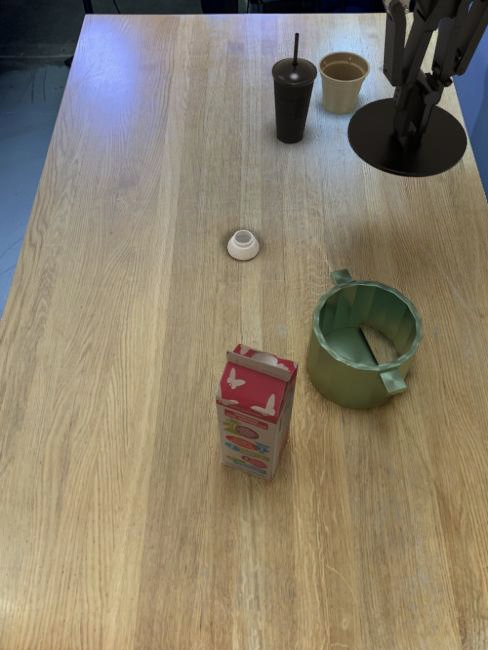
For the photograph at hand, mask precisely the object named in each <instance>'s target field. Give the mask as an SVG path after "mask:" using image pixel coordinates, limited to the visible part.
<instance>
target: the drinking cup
mask: <svg viewBox="0 0 488 650" xmlns="http://www.w3.org/2000/svg"><path fill="white" fill-rule="evenodd" d="M299 41H300V32H295V33H294V43H293V56H292V57H286V58H283V59H280V60H278V61H277V62H275V63H274V64H273V65H272V67H271V77H272V78H273V95H274V97H273V98H274V114H275V116H274V117H275V131H276V139H277V140H278V141H279V142H281V143H283V144H286V145H293V144H297V143H299V142H301V141H302V140H303V138H304V133H305V128H306V124H307V118H308V114H309V108H310V104H311V98H312V94H313V91H314V90H313V89H314V85H315V80H316V79H317V76H318V69H317V68H318V67H317V66H316V65H315V64H314V63H313V62H312V61H310V60H308V59H305V58H301V57H299V43H300V42H299Z"/></svg>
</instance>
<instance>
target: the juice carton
mask: <svg viewBox="0 0 488 650" xmlns="http://www.w3.org/2000/svg"><path fill="white" fill-rule="evenodd" d="M298 368H299V362H296V361H293V360H291V359H287V358H284V357H281V356H279V355H276V354H273V353H269V352H267V351H264V350H260V349H257V348H254V347H252V346H248V345H245V344H242V343H238V344H237V345H236V346H235V348H234V349H233V350H232V351H230V350H229V349H227V350H226V363H225V366H224V368H223V371H222V374H221V377H220V380H219V383H218V386H217V389H216V392H215V395H214V396H215V397H214V398H215V406H216V415H217V427H218V437H219V447H220V448H219V449H220V457H221V464H222V465H225V466H228V467H230V468H232V469H236V470H238V471H241V472H244V473H247V474H249V475H250V476H254V477H256V478H259V479H262V480H265V481H267V482H269V483H272V481H273V479H274V476H275V474H276V470H277V468H278V466H279V463H280V460H281V457H282V455H283V452H284V450H285V446H286V444H287V442H288V438H289V435H290V430H291V429H290V428H291V422H292V414H293V407H294V399H295V393H296V385H297V378H298Z"/></svg>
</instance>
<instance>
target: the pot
mask: <svg viewBox="0 0 488 650" xmlns="http://www.w3.org/2000/svg"><path fill="white" fill-rule="evenodd" d="M329 278H330V279H331V281H332V284H333V287H332V288H330V289H329V290H327V291H326V292H324V293H323V294H321V297H320V298H319V300H318V301H317V303H316V305H315V307H314V308H313V312H312V319H311V324H310V330H309V331H310V332H309V338H308V343H307V351H306V366H305V367H306V370H307V374H308V377H309V380H310V382H311V383H312V385H313V387H314V388H315V389H316V390H317V391H318V393H319V394H321V395H322V396H323V397H324V398H325V399H326V400H329V401H330V402H331V403H334V404H336V405H338V406H341V407H344V408H347V409H352V410H353V409H355V410H368V409H372V408H376V407H379V406H382V405H384V404H386V403H387V402H389V401H390V400H392V399H393V398H394V397H395V395H397V394H400V393H403V392H406V391H407V389H408V386H407V384H406V382H405V378H406V376H407V374H408V372H409V369H410V367H411V365H412V362H413V360H414V358H415V356H416V354H417V351H418V349H419V347H420V345H421V342H422V340H423V337H424V332H423V319H422V317H421V315H420V314H419V313H420V312H418V310H417V308H416V306H415V304H414V302H412V301H411V299H409V298H408V297H407V296H406V295H405V294H404V293H402V292H401V291H400V290H399V289H397V288H395V287H392V286H390V285H387V284H385V283H382V282H380V281H375V280H374V281H373V280H363V279H353V277H352V275H351V273H350V271H349V269H348V268H343V269H338V270H335V271H331V272H330V275H329ZM361 325H362V326H367V327H369V328H371V329H374V330H376V331H379V332H380V333H381V334H383V335H384V336H385V337H386V338H387V339H389V340H390V341H391V342H392V343H393V345H394V347H395V349H396V351H397V353H398V355H399V357H398V358H397V359H395V360H392V361H387V362H383V363H380V364H379V362H378V360H377V357H376V356H375V353H374V351H373V350H372V348H371V346H370V344H369V341H368V339H367V337H366V335H365V333H364V331H363V329H362V327H361Z"/></svg>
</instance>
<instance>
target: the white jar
mask: <svg viewBox="0 0 488 650" xmlns="http://www.w3.org/2000/svg"><path fill="white" fill-rule="evenodd" d="M226 248H227V252H228V254H229V255H230V256H231V257H232V258H234V259H236V260H239V261H240V260H241V261H246V260H251V259H253V258H255V257H256V256H257V255H258V254H259V251H260V244H259V241H258V239H256V237H255V236H254V235H253V233H252V232H250V231H249V230H247V229H240V230H238V231H236V232H234V235H232V237H231V238H230V239H229V241H228V243H227V246H226Z"/></svg>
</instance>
